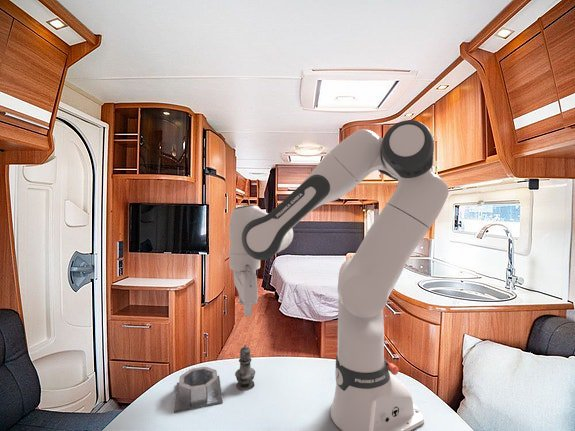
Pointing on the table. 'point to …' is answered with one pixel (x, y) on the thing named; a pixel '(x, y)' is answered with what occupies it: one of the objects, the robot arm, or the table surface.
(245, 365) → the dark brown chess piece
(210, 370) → the duct collar
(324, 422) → the table surface
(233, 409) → the table surface
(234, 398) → the table surface
